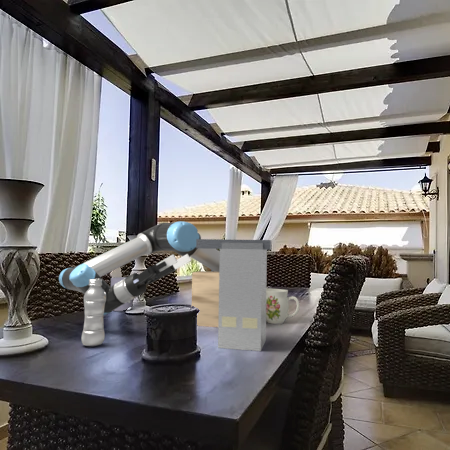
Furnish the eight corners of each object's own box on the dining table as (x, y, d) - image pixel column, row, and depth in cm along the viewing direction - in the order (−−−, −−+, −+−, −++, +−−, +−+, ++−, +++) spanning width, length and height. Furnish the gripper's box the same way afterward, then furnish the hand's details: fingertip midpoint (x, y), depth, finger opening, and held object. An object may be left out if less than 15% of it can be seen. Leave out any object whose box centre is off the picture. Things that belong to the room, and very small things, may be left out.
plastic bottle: (80, 344, 116) (83, 278, 117) (103, 342, 119) (105, 278, 120) (81, 349, 110) (84, 280, 111) (105, 347, 113) (108, 280, 114)
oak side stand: (197, 321, 155) (198, 271, 157) (240, 323, 151) (241, 272, 153) (191, 325, 147) (192, 272, 148) (236, 328, 143) (237, 273, 144)
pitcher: (296, 327, 147) (297, 291, 148) (252, 322, 154) (253, 288, 154) (301, 322, 157) (301, 288, 158) (260, 318, 164) (260, 286, 165)
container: (118, 312, 173) (120, 279, 174) (105, 309, 179) (106, 278, 180) (136, 309, 181) (137, 278, 182) (123, 307, 187) (124, 277, 188)
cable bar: (199, 248, 126) (199, 239, 127) (271, 249, 121) (271, 240, 121) (196, 248, 123) (196, 239, 123) (270, 249, 117) (270, 240, 117)
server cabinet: (227, 338, 127) (228, 243, 129) (265, 340, 124) (266, 243, 126) (217, 348, 114) (219, 242, 116) (260, 351, 111) (261, 242, 113)
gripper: (151, 293, 140) (198, 265, 137) (117, 302, 116) (174, 269, 113) (142, 275, 142) (189, 247, 138) (106, 280, 117) (163, 247, 114)
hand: (182, 257), depth 125 cm, fingers open, 13 cm apart
